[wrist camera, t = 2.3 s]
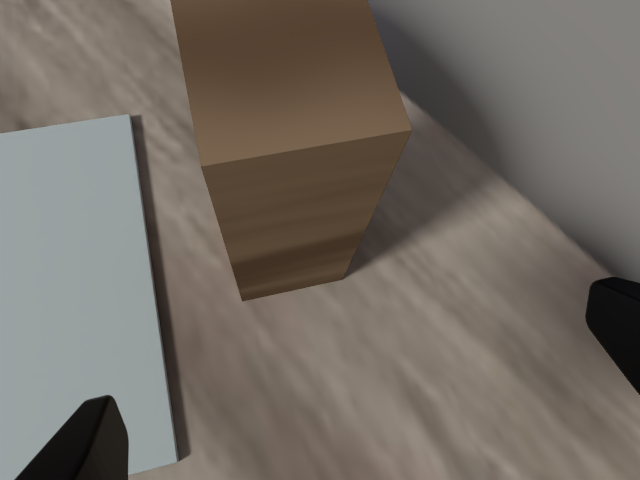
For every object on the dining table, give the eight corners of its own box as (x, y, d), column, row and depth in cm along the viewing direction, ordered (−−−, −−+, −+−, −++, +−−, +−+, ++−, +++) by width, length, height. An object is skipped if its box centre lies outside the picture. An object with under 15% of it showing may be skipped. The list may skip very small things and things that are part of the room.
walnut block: (342, 279, 23) (412, 129, 11) (242, 301, 22) (200, 166, 10) (318, 189, 24) (357, -29, 12) (224, 207, 23) (168, -6, 12)
